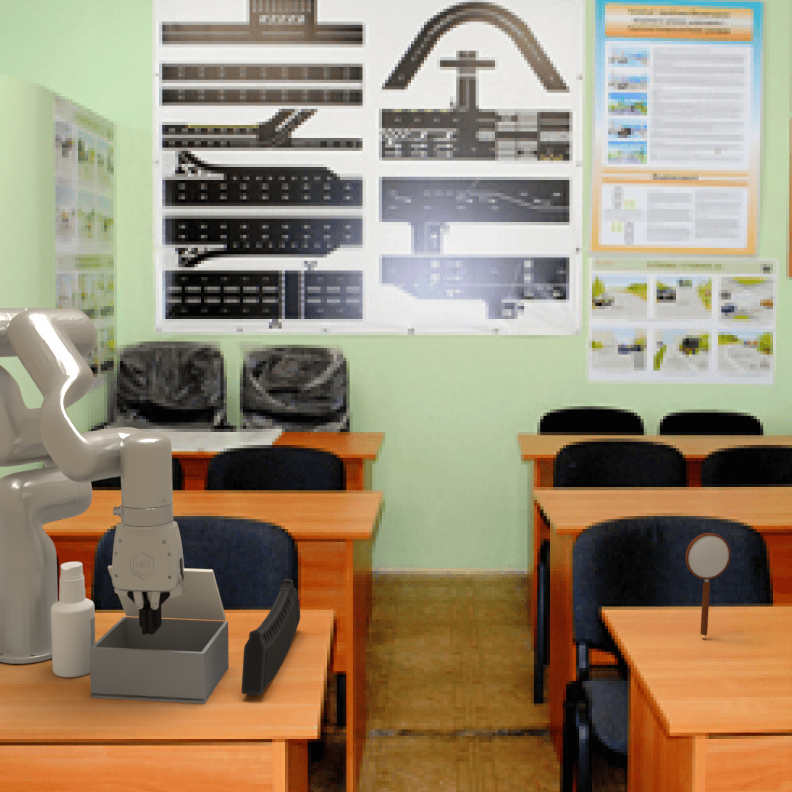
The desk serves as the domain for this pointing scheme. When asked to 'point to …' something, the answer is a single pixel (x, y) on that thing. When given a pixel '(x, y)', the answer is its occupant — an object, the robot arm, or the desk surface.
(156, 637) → the carton
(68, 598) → the spray bottle
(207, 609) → the carton flap
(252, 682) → the magazine
